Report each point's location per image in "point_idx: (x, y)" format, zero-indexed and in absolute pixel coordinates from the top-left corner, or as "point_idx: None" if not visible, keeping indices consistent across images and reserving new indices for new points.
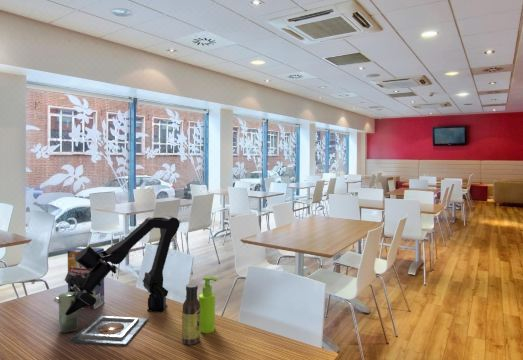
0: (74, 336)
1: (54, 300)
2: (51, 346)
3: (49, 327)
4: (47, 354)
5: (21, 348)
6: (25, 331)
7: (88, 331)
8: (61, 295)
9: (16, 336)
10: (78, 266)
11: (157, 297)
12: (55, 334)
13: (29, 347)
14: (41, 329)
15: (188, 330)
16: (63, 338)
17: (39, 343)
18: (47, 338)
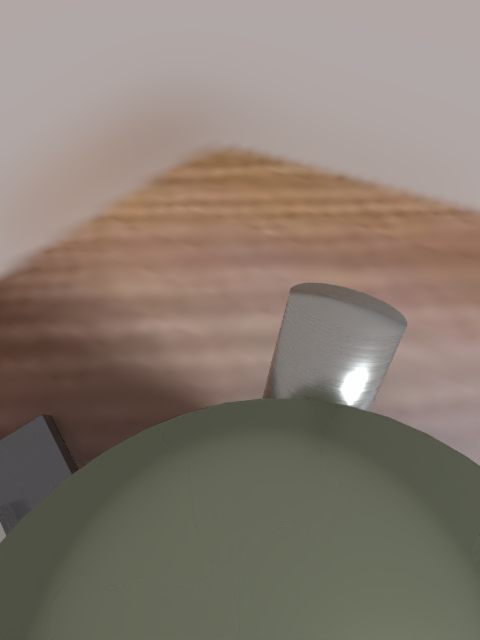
0: (65, 476)
1: (294, 286)
2: (106, 317)
3: (405, 424)
4: (33, 265)
5: (224, 207)
6: (440, 293)
7: None
8: (449, 553)
9: (399, 238)
10: None
11: None
12: None
13: (201, 235)
14: (406, 371)
15: None
16: (148, 418)
17: (206, 287)
18: (236, 344)
